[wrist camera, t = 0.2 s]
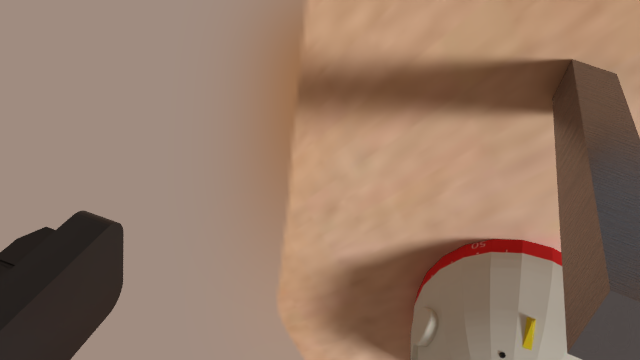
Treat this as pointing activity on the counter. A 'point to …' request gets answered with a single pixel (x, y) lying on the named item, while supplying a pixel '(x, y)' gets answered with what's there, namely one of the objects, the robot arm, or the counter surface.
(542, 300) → the kitchen timer
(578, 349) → the post
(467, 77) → the counter surface
